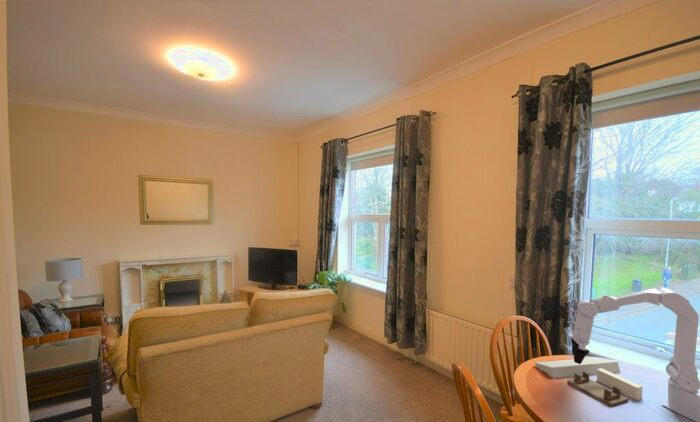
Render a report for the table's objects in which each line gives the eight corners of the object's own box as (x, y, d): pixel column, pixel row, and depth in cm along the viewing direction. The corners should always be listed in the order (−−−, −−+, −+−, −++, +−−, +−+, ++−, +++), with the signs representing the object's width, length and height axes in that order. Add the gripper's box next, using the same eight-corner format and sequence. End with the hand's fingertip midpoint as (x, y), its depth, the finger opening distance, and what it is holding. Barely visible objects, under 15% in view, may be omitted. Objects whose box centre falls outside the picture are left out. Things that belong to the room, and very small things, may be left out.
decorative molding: (537, 373, 137) (554, 379, 127) (534, 362, 138) (551, 367, 129) (599, 368, 142) (620, 373, 132) (596, 357, 143) (617, 361, 134)
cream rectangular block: (642, 399, 114) (642, 386, 114) (637, 400, 113) (637, 387, 113) (601, 379, 128) (601, 368, 128) (596, 380, 127) (597, 369, 127)
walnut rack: (628, 401, 112) (628, 389, 112) (611, 407, 109) (611, 395, 109) (583, 378, 128) (583, 368, 128) (567, 383, 124) (567, 372, 124)
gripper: (569, 319, 131) (563, 348, 132) (572, 330, 119) (566, 362, 120) (589, 325, 127) (583, 355, 128) (594, 337, 115) (587, 370, 116)
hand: (576, 359), depth 124 cm, fingers open, 7 cm apart
